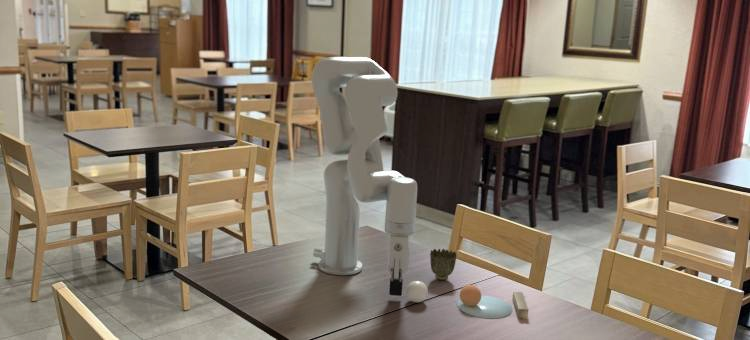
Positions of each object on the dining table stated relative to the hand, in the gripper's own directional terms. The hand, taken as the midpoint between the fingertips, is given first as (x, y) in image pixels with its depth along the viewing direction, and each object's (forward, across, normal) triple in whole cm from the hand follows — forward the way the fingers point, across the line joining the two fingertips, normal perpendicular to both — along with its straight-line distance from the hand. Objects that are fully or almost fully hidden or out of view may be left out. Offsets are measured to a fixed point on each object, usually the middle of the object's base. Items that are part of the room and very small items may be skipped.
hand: (395, 294), depth 178 cm
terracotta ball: (-1, 0, -19) cm, 19 cm away
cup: (+2, +16, -12) cm, 21 cm away
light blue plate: (+2, 0, -23) cm, 23 cm away
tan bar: (+2, 0, -32) cm, 32 cm away
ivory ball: (-1, 0, -6) cm, 6 cm away
